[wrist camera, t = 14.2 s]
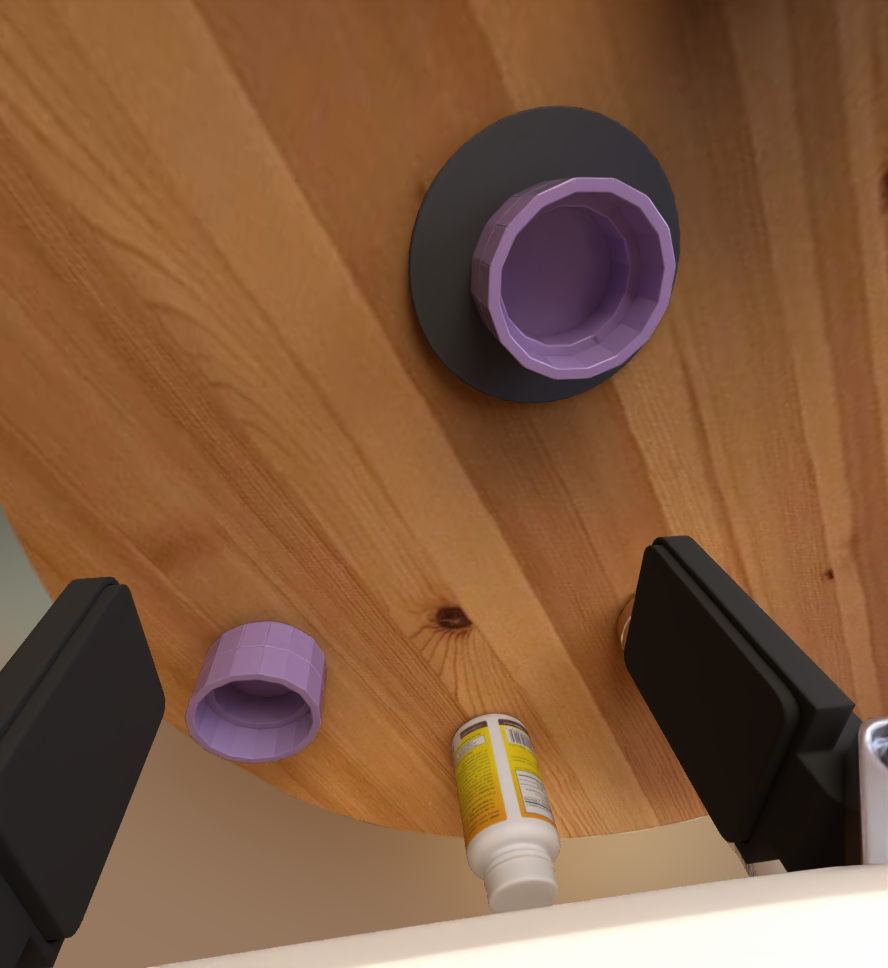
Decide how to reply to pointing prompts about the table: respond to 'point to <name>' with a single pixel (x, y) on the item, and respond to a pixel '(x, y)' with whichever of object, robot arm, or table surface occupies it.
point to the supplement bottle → (505, 813)
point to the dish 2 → (573, 275)
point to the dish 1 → (258, 693)
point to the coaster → (478, 196)
